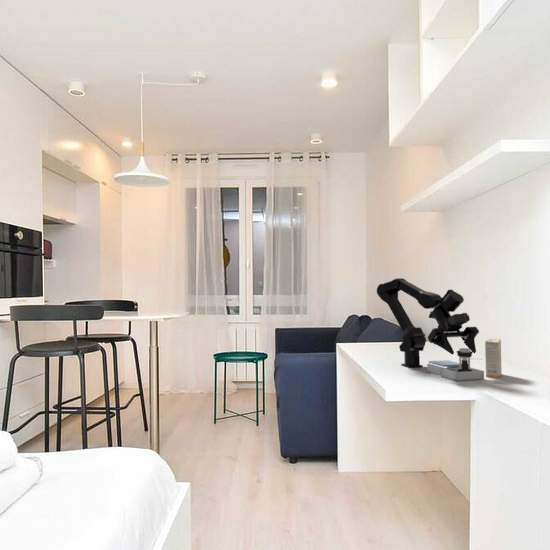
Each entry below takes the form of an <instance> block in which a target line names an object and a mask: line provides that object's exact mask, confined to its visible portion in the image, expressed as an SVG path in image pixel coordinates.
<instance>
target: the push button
mask: <svg viewBox="0 0 550 550" xmlns="http://www.w3.org/2000/svg"><path fill="white" fill-rule="evenodd" d="M456 354H457V357H459V359H458V360H459V361H458V363H459V368H460V369H458V372H467V371H472V370H471V368H472V367H471V357H473V354H474V353H473V352H472V351H471V350H470V349H469V348H464V347H463V348H458V350H457V351H456ZM461 364H462V365H461ZM470 367H471V368H470Z"/></svg>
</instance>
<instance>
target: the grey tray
mask: <svg viewBox="0 0 550 550" xmlns="http://www.w3.org/2000/svg"><path fill="white" fill-rule="evenodd" d="M426 365H427V368H426V370H427V372H428V373H431V374H435V375H438V376H440V377H441V378H444V379H447V380H451V381H454V382H465V381H466V382H467V381H477V380H478V381H480V380H485V371H484V370H481V369H478V368H474V367H471V366H470V368H471V370H472V371H467V372H458V369H460V368H459V366H450V367H443V366H439V365H435V364H432V363H427V364H426Z"/></svg>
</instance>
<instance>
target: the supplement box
mask: <svg viewBox="0 0 550 550" xmlns="http://www.w3.org/2000/svg"><path fill="white" fill-rule="evenodd" d="M484 343H485V347H484V348H485V350H484V351H485V352H484V353H485V355H484V356H485V376H486V377H487V378H496V379H499V378H501V376H502V340H501V339H500V338H499V339H497V338H487V339H486V340H485V341H484Z"/></svg>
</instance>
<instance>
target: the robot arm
mask: <svg viewBox="0 0 550 550" xmlns="http://www.w3.org/2000/svg"><path fill="white" fill-rule="evenodd" d="M401 291H402V292H403V293H406V294H407V295H408V296H410V297H412V298H414V299H415V300H416V301H417V303H418V304H419V305H420V306H421V307H422V308H423V309H427V310H429V309H431V311H430V312H429V314H428V318H429V319H433V320H435V321H436V324H437V327H433V328H432V329H431V331H430V332H429V334H428V335H427V338H426V334H425V333H424V331H423V330H422V328H421V327H415V326H414V324H413V322H412V321H411V319H410V317H409V315H408V314H407V312H406V310H405V308H404V307H403V306H402V303H401V302H400V300H399V292H401ZM376 294H377V296H378V297H379V298H380V300H382V301H383V302H384V303H386V304H387V305H388V307H389V309H390V311H391V312H392V314H393V316H394V318H395V320H396V323H398V325H399V327H400V329H401V330H402V340H403V341H402V342H401V344H399V351H400V352H403V353H404V354H403V355H404V363H401V366H403V367H407V368H421V367H424V366H423V364H421V363H420V362H421V360H420V359H421V357H420V352H423V351H424V348H425V345H426V342H427V341H429V343H430V344H433V345H436V346H438V347H439V348H442V349H443V350H444V351H446V352H448V353H449V354H450V355H454V354H455V351H454V349H453V347H452V345H451V343H450V342H449V340H448V338H461V340H462V341H463V343H464V345H465V346H466V347H467V349H470V351H471V352H473V353H472V354H476V352H477V349H476V344H475V338H476V336H477V335H478V334H479V333H480V330H479V329H478V327H477V326H466V327H465V328H464V330H462V328H463V325H464V324H467V323H468V322H470V316H469V314H468V312H462V313H455V311H456V310H457V309H458V308H459V307H460V306H461V305H462V304H463V302H464V301H465V299H464V296H463V295H461V294H460V293H458V292H457V291H454V290H453V289H447V291H446V293H445V294H444V295H443V297H442V296H441V295H440V294H438V293H436V292H432V291H427V290H424V289H422V288H420V287H418V286H416V285H414V284H413V283H411V282H410V281H407V280H406V279H405V278H402V277H401V278H398V277H397V278H395V279H392V280H390V281H387V282H385V283H380V284H378V286H377V288H376ZM432 309H433V310H432ZM451 313H454V314H452V315H451Z"/></svg>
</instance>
